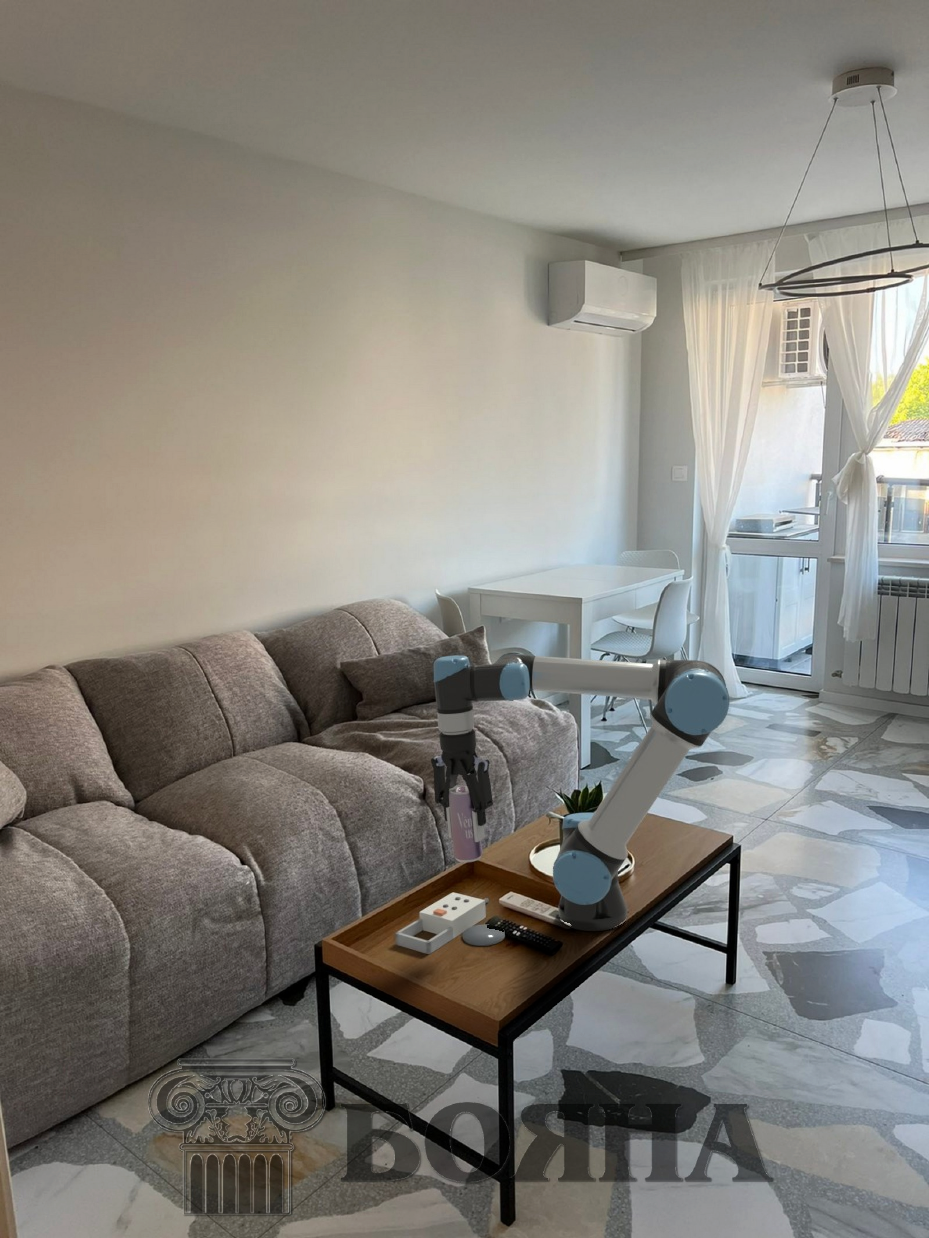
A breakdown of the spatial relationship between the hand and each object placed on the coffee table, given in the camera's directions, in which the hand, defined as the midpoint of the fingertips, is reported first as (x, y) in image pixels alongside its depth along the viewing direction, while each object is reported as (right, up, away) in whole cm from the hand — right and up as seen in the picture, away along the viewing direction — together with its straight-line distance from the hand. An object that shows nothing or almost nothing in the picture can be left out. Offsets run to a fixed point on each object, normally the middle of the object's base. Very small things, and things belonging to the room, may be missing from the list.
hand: (466, 837), depth 198 cm
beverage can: (0, -5, 0) cm, 5 cm away
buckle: (-3, -21, +10) cm, 24 cm away
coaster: (+4, -22, +3) cm, 22 cm away
